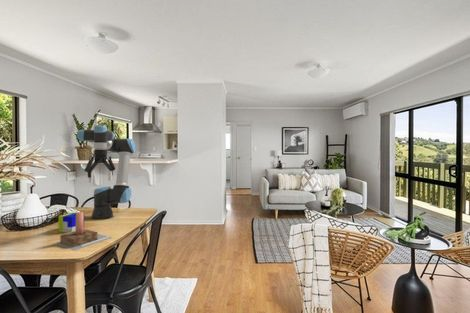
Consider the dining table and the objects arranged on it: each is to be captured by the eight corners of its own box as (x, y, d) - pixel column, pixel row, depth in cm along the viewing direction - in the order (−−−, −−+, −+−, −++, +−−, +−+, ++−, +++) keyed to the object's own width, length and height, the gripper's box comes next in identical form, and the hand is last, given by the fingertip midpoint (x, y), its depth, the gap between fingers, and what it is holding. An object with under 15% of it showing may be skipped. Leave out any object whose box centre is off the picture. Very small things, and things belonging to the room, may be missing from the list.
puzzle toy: (71, 232, 160) (71, 217, 160) (58, 231, 162) (58, 216, 162) (84, 228, 170) (84, 213, 170) (71, 227, 172) (71, 212, 172)
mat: (91, 233, 158) (91, 232, 158) (112, 238, 149) (112, 237, 149) (52, 244, 139) (52, 243, 139) (74, 251, 129) (74, 250, 129)
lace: (107, 237, 149) (107, 236, 149) (108, 237, 149) (108, 236, 149) (80, 246, 135) (80, 245, 135) (81, 246, 135) (81, 245, 135)
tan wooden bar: (80, 239, 145) (81, 212, 145) (84, 240, 143) (85, 212, 143) (73, 241, 142) (74, 213, 142) (78, 242, 140) (78, 214, 140)
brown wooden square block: (83, 236, 151) (83, 228, 151) (97, 239, 145) (97, 232, 145) (60, 243, 140) (60, 235, 140) (74, 247, 134) (74, 239, 134)
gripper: (113, 149, 178) (113, 179, 178) (77, 149, 156) (78, 183, 156) (120, 149, 175) (121, 180, 175) (85, 149, 152) (85, 184, 153)
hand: (100, 181), depth 166 cm, fingers open, 13 cm apart
